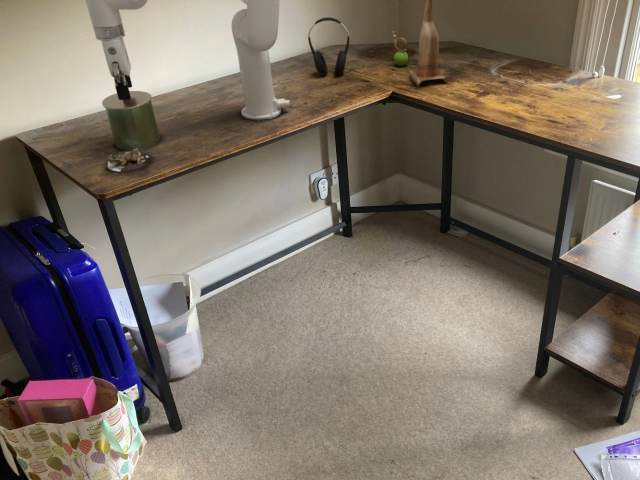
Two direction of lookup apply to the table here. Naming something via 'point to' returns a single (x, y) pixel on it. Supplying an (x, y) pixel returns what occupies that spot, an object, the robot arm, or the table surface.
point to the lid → (127, 101)
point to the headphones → (319, 58)
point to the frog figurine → (124, 159)
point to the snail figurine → (400, 51)
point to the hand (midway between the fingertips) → (125, 93)
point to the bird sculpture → (427, 50)
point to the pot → (134, 127)
